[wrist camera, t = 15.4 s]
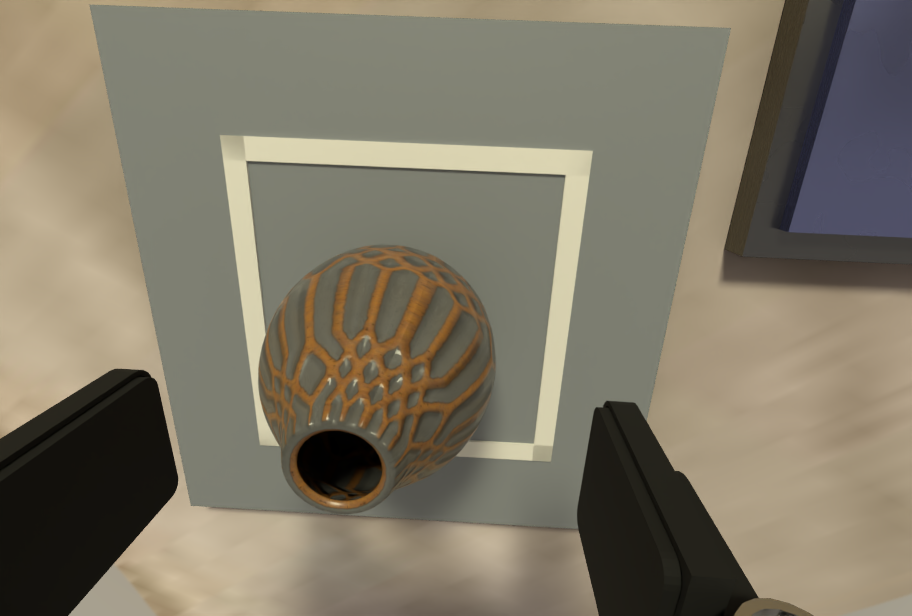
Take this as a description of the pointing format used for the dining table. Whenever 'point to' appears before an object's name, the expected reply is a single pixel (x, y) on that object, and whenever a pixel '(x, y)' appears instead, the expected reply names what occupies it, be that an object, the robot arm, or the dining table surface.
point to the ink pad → (832, 138)
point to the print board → (411, 216)
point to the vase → (374, 375)
